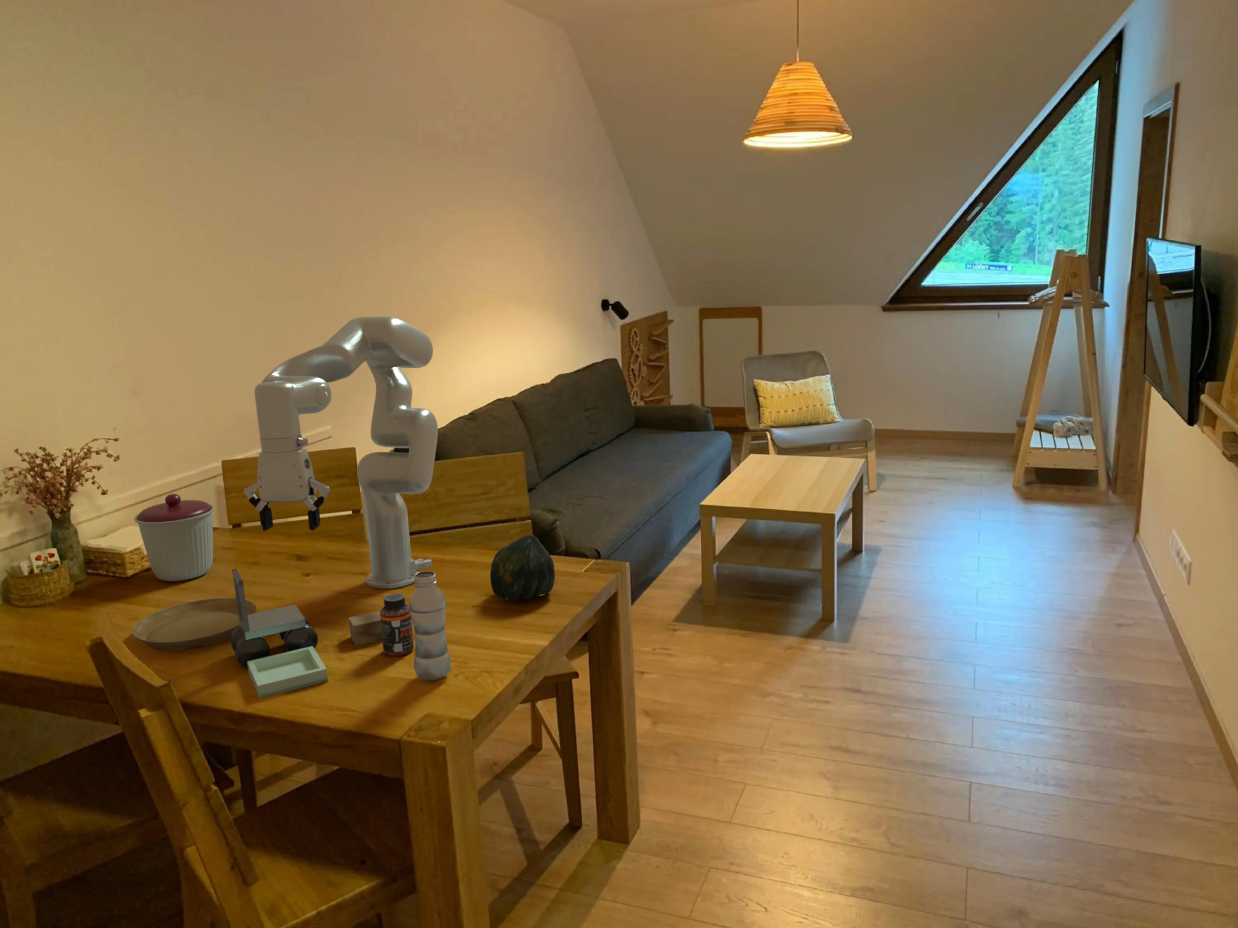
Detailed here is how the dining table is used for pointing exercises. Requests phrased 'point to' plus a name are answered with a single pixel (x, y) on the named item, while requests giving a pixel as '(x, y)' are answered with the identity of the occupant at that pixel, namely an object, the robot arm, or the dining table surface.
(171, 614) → the plant saucer
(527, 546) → the squash
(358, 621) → the block
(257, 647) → the trolley
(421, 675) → the plastic bottle
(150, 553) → the canister
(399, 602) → the supplement bottle
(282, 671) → the tray
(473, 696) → the dining table surface
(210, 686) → the dining table surface
